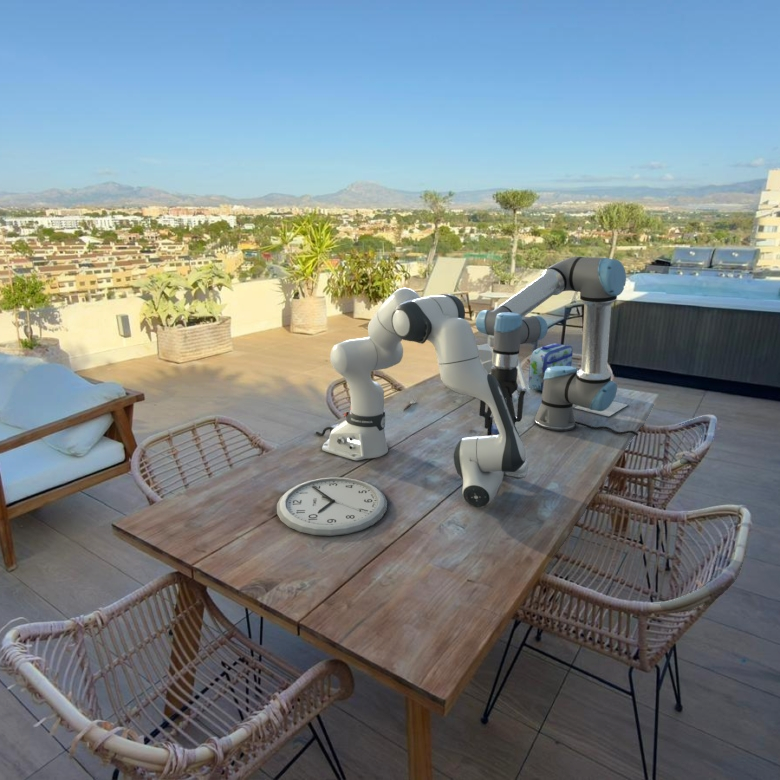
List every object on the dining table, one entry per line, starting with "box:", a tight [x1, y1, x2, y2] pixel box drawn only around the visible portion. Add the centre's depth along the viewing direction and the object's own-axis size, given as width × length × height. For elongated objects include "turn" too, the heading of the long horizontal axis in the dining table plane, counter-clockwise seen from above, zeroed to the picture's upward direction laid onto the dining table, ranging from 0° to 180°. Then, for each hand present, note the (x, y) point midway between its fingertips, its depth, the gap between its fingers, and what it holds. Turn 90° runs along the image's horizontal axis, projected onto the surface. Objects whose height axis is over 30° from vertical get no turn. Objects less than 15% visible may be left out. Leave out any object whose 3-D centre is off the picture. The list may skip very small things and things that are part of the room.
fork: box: [403, 395, 419, 411], centre depth 222 cm, size 3×16×2 cm, turn 160°
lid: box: [491, 423, 499, 435], centre depth 159 cm, size 5×5×2 cm
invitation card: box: [573, 400, 629, 418], centre depth 226 cm, size 21×1×15 cm
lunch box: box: [528, 343, 574, 392], centre depth 249 cm, size 26×11×21 cm, turn 134°
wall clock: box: [276, 476, 388, 537], centre depth 142 cm, size 30×2×30 cm
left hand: (497, 453), depth 162 cm, fingers closed on jar, 5 cm apart
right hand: (498, 439), depth 160 cm, fingers closed on lid, 5 cm apart
